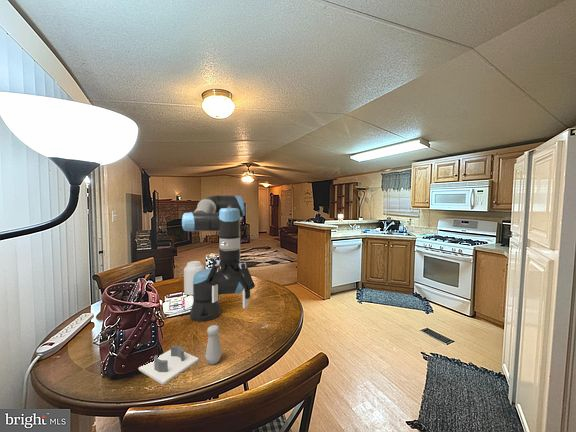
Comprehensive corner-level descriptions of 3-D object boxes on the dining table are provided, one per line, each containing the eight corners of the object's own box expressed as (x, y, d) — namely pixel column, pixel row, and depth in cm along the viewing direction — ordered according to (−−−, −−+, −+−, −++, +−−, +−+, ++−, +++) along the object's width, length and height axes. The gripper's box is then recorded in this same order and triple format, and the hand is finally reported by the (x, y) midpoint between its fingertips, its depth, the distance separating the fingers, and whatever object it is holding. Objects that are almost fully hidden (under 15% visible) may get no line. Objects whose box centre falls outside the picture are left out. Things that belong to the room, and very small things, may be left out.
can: (208, 289, 163) (207, 260, 162) (197, 296, 151) (196, 265, 150) (191, 288, 166) (191, 259, 165) (179, 294, 153) (179, 263, 153)
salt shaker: (205, 367, 85) (205, 332, 84) (204, 358, 90) (204, 324, 90) (222, 363, 87) (222, 328, 87) (220, 354, 93) (220, 321, 92)
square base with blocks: (138, 369, 84) (138, 358, 84) (174, 349, 96) (174, 338, 96) (162, 385, 77) (162, 372, 77) (198, 360, 89) (198, 349, 89)
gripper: (196, 248, 91) (196, 302, 92) (254, 253, 83) (254, 313, 84) (209, 245, 99) (209, 296, 99) (263, 249, 90) (263, 305, 91)
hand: (229, 304), depth 92 cm, fingers open, 13 cm apart
